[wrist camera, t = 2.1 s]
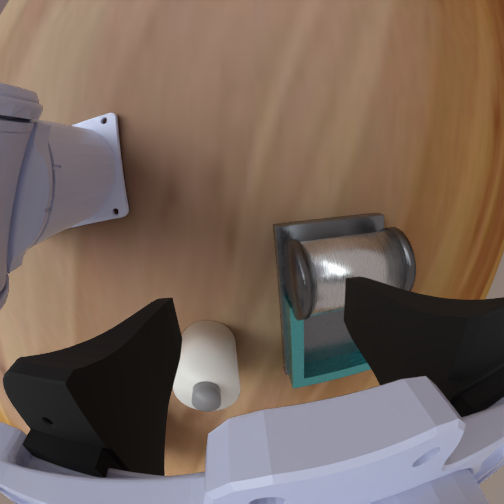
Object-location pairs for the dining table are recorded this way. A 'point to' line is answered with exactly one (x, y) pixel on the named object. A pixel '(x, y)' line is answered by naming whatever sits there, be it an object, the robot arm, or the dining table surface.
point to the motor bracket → (331, 288)
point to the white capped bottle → (207, 367)
